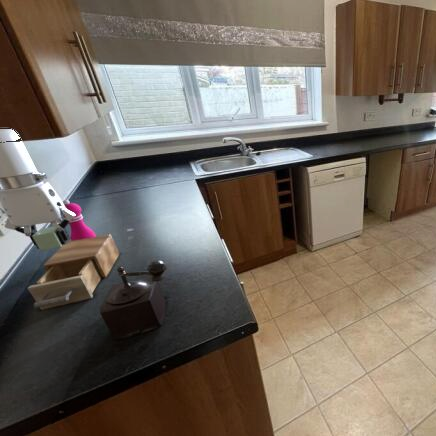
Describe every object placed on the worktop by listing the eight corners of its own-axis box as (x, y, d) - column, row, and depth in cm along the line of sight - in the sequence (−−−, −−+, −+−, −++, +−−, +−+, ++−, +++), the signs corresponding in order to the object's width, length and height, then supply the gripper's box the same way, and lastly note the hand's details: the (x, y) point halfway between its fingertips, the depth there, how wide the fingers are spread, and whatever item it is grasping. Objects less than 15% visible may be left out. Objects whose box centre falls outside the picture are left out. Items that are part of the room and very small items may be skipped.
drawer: (85, 311, 73) (72, 288, 69) (31, 323, 69) (15, 300, 66) (107, 272, 88) (98, 252, 85) (65, 281, 85) (53, 261, 81)
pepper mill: (99, 240, 110) (78, 194, 101) (100, 247, 105) (78, 200, 96) (76, 247, 106) (52, 199, 97) (76, 254, 101) (50, 205, 92)
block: (40, 250, 72) (31, 235, 70) (48, 242, 75) (40, 228, 73) (61, 246, 73) (53, 232, 71) (68, 239, 77) (61, 225, 75)
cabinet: (107, 280, 86) (95, 255, 82) (58, 291, 82) (43, 265, 78) (120, 257, 98) (110, 234, 94) (78, 265, 94) (66, 241, 90)
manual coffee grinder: (111, 343, 64) (79, 283, 56) (123, 312, 73) (96, 256, 65) (183, 322, 69) (163, 265, 61) (186, 295, 78) (168, 242, 70)
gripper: (68, 172, 72) (96, 232, 80) (-16, 181, 67) (23, 244, 75) (55, 180, 66) (86, 244, 74) (-39, 190, 60) (5, 258, 68)
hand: (54, 243), depth 74 cm, fingers closed on block, 4 cm apart
